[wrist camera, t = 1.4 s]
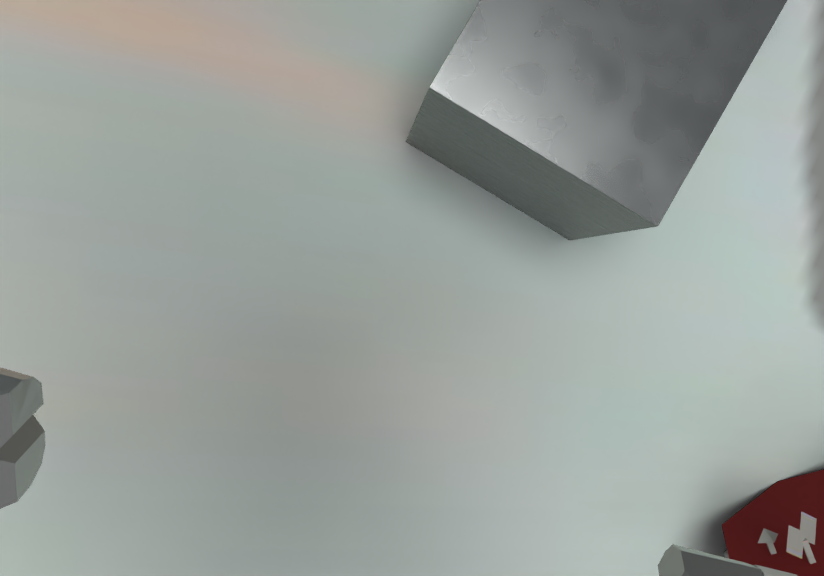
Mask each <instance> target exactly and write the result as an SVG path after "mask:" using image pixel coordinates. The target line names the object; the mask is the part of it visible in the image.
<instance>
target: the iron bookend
mask: <svg viewBox="0 0 824 576" xmlns="http://www.w3.org/2000/svg"><path fill="white" fill-rule="evenodd" d="M786 2H787V0H480V2H479V4H478V5H477V7H476V9H475V10H474V12H473V14H472V15H471V17H470V19H469V21H468V22H467V24H466V26H465V27H464V29H463V31H462V33H461V34H460V36H459V38H458V39H457V41H456V43H455V45H454V46H453V48H452V50H451V51H450V53H449V55H448V56H447V58H446V60H445V62H444V63H443V65H442V67H441V68H440V70H439V72H438V74H437V75H436V77H435V79H434V80H433V82H432V84H431V86H430V87H429V90H428V92H427V94H426V96H425V99H424V101H423V103H422V106H421V108H420V110H419V113H418V115H417V117H416V119H415V122H414V124H413V126H412V129H411V131H410V133H409V136H408V138H407V140H406V142H407V143H409V144H410V145H412V146H414V147H415V148H417V149H419V150H420V151H422V152H424V153H425V154H427V155H429V156H430V157H432V158H434V159H435V160H437V161H439V162H440V163H442V164H444V165H445V166H447V167H449V168H450V169H452V170H454V171H455V172H457V173H459V174H460V175H462V176H464V177H465V178H467V179H469V180H470V181H472V182H474V183H475V184H477V185H479V186H480V187H482V188H484V189H485V190H487V191H489V192H490V193H492V194H494V195H495V196H497V197H499V198H500V199H502V200H504V201H505V202H507V203H509V204H510V205H512V206H514V207H515V208H517V209H519V210H520V211H522V212H524V213H525V214H527V215H529V216H530V217H532V218H534V219H535V220H537V221H539V222H540V223H542V224H543V225H545V226H547V227H548V228H550V229H552V230H553V231H555V232H557V233H558V234H560V235H562V236H563V237H565V238H567V239H568V240H575V239H581V238H587V237H593V236H600V235H606V234H612V233H619V232H625V231H631V230H637V229H644V228H650V227H656V226H658V225H659V223H660V222H661V220H662V218H663V216H664V215H665V213H666V211H667V209H668V208H669V206H670V204H671V202H672V201H673V199H674V197H675V195H676V194H677V192H678V190H679V188H680V187H681V185H682V183H683V182H684V180H685V178H686V176H687V175H688V173H689V171H690V169H691V168H692V166H693V164H694V162H695V161H696V159H697V157H698V155H699V154H700V152H701V150H702V148H703V147H704V145H705V143H706V141H707V140H708V138H709V136H710V134H711V133H712V131H713V129H714V127H715V126H716V124H717V122H718V120H719V119H720V117H721V115H722V113H723V112H724V110H725V108H726V106H727V105H728V103H729V101H730V99H731V98H732V96H733V94H734V92H735V91H736V89H737V87H738V85H739V84H740V82H741V80H742V78H743V77H744V75H745V73H746V71H747V70H748V68H749V66H750V64H751V63H752V61H753V59H754V57H755V56H756V54H757V52H758V50H759V49H760V47H761V45H762V43H763V42H764V40H765V38H766V36H767V35H768V33H769V31H770V30H771V28H772V26H773V24H774V23H775V21H776V19H777V17H778V16H779V14H780V12H781V10H782V9H783V7H784V5H785V3H786Z"/></svg>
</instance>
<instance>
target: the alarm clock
mask: <svg viewBox="0 0 824 576" xmlns="http://www.w3.org/2000/svg"><path fill="white" fill-rule="evenodd" d="M722 529H723V533H724V537H725V542H726V546H727V550H726V551H725V552H724V556H725V558H729V559H733V560H737V561H741V562H744V563H748V564H751V565H759V566H763V567H767V568H771V569H775V570H779V571H784V572H788V573H792V574H796V575H798V576H824V469H823V470H820V471H816V472H812V473H808V474H804V475H800V476H797V477H793V478H789V479H785V480H781V481H778V482H776V483H775V484H774V485H772V486H771V487H770V488H769V489H767V490H766V491H765V492H763V493H762V494H761V495H760V496H758V497H757V498H756V499H754V500H753V501H752V502H751V503H749V504H748V505H747V506H745V507H744V508H743V509H741V510H740V511H739V512H738V513H736V514H735V515H734V516H732V517H731V518H730V519H729V520H727V521H726V522H725V523H723V524H722Z"/></svg>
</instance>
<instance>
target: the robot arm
mask: <svg viewBox="0 0 824 576" xmlns="http://www.w3.org/2000/svg"><path fill="white" fill-rule="evenodd" d="M42 405H43V395H42V385H41V382H39V381H38V380H37V379H35V378H34V377H32V376H28V375H25V374H21V373H18V372H14V371H11V370H7V369H4V368H0V509H1V508H3V507H5V506H8V505H10V504H12V503H15V502H17V501H18V500H19V499H20V498H21V496H22V495H23V494H24V493H25V492H26V490H27V489H28V488H29V487H30V486H31V484H32V482H33V480H34V478H35V476H36V474H37V472H38V470H39V468H40V466H41V463H42V459H43V454H44V449H45V431H44V429H43V428H42V427H41V425H40V424H39V422H38V421H37V420H36V418H35V417H34V415H33V414H34V413H35V412H36V411H37V410H38V409H39V408H40V407H41V406H42ZM658 570H659V576H798V575H796V574H792V573H788V572H784V571H779V570H775V569H771V568H767V567H763V566H759V565H751V564H748V563H744V562H741V561H737V560H733V559H729V558H725V557H721V556H717V555H713V554H709V553H705V552H701V551H697V550H693V549H689V548H685V547H681V546H678V545H674V544H673V545H671V546H670V547H669V548H668V549H667V550H666V551H665V553H664V555H663V557H662V559H661V560H660V562H659V564H658Z"/></svg>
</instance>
